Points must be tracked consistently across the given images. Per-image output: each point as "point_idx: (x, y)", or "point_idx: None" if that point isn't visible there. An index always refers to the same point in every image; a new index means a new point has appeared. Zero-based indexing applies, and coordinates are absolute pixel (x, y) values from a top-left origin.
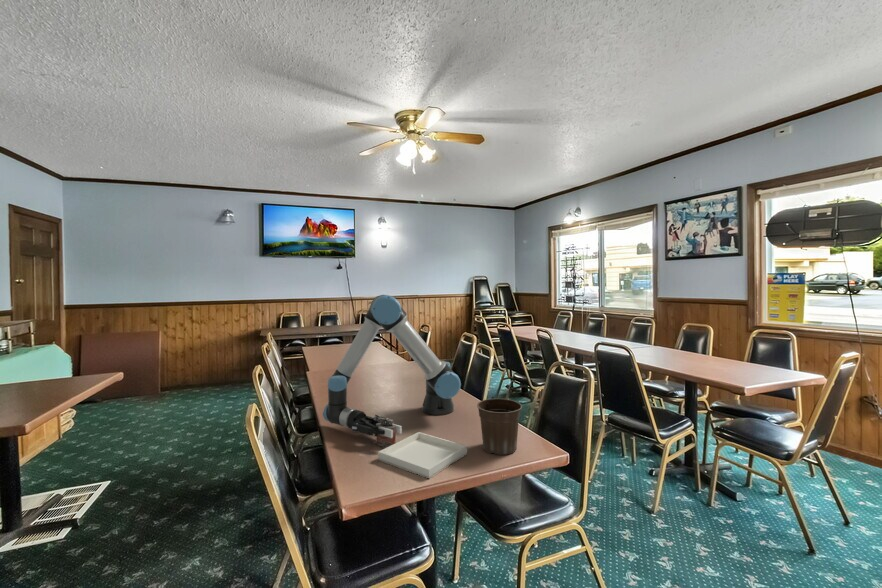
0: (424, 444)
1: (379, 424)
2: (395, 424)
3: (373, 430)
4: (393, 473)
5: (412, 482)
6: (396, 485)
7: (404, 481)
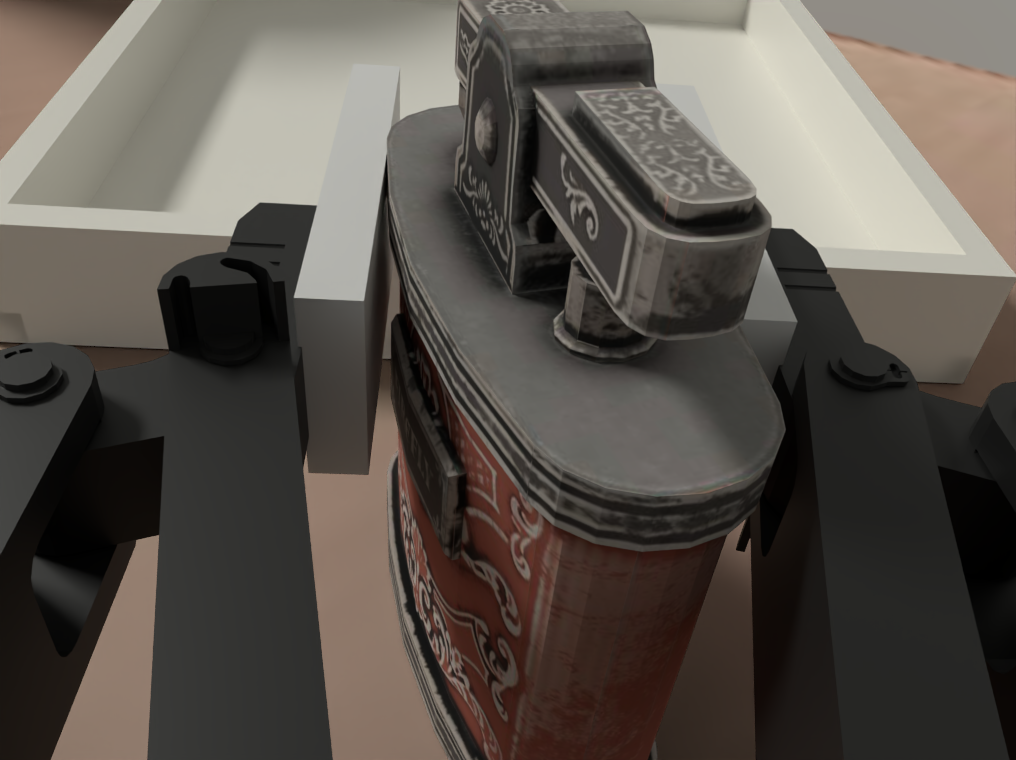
0: (223, 188)
1: (663, 377)
2: (337, 150)
3: (960, 419)
4: (941, 179)
5: (878, 76)
6: (1009, 112)
7: (923, 103)
